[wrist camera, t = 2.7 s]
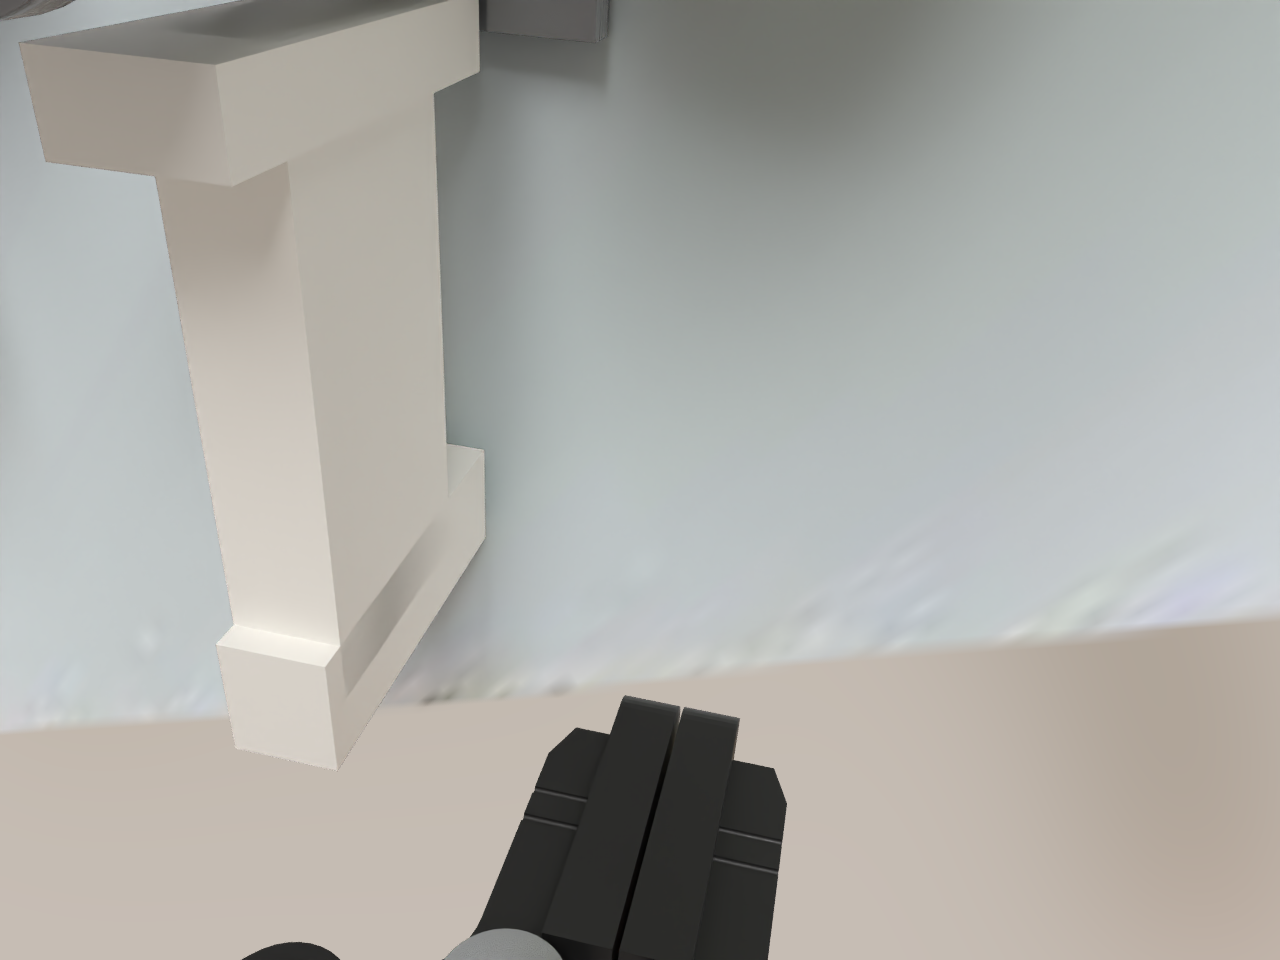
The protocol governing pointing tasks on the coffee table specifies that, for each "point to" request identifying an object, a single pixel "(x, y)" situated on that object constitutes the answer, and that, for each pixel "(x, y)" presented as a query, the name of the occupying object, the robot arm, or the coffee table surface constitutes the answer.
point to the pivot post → (508, 3)
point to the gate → (299, 322)
